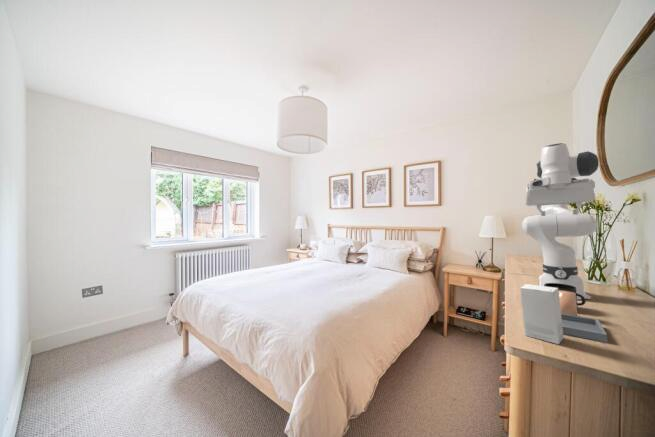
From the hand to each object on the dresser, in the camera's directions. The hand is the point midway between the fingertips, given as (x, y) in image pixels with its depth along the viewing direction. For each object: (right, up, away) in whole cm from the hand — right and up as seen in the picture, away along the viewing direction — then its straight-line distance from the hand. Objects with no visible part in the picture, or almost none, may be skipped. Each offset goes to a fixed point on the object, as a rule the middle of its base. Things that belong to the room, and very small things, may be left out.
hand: (558, 215), depth 95 cm
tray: (-12, -38, -17) cm, 44 cm away
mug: (+3, -38, 0) cm, 39 cm away
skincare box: (-26, -39, -22) cm, 52 cm away
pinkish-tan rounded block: (-4, -38, -7) cm, 39 cm away
